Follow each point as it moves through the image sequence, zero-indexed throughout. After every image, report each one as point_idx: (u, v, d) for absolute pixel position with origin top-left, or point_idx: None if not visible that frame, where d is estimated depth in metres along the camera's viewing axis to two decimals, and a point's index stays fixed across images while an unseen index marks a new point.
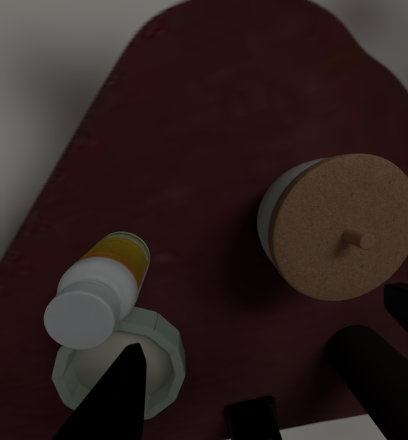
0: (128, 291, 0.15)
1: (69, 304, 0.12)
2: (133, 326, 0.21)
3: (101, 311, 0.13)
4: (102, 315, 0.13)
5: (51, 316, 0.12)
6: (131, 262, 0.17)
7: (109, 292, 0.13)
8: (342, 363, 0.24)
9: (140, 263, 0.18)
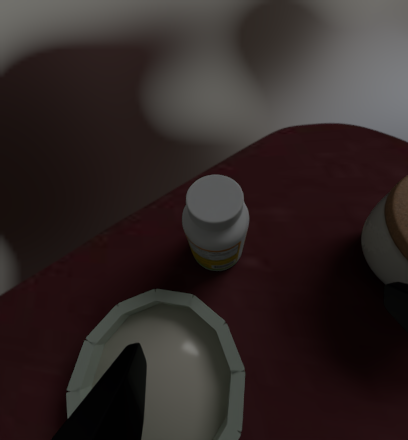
0: (245, 216, 0.16)
1: (214, 182, 0.15)
2: (204, 308, 0.18)
3: (236, 193, 0.15)
4: (235, 196, 0.15)
5: (196, 186, 0.15)
6: None
7: None
8: None
9: None
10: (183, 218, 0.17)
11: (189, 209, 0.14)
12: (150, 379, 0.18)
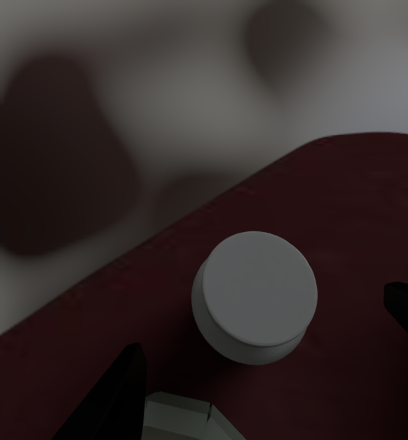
0: None
1: (255, 247, 0.08)
2: None
3: (300, 275, 0.07)
4: (300, 282, 0.07)
5: (221, 256, 0.08)
6: None
7: None
8: None
9: None
10: (194, 300, 0.10)
11: (209, 309, 0.07)
12: None
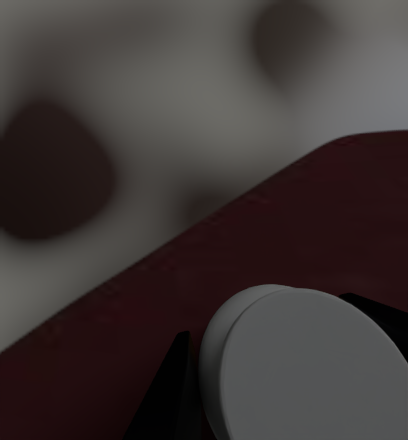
0: None
1: (306, 319, 0.05)
2: None
3: (392, 379, 0.04)
4: (394, 394, 0.04)
5: (251, 334, 0.05)
6: None
7: None
8: None
9: None
10: (202, 381, 0.07)
11: None
12: None
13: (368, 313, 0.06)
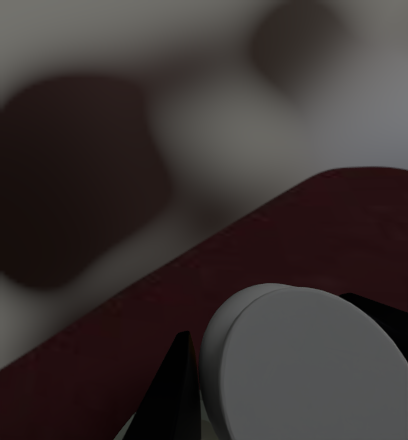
0: None
1: (306, 317, 0.05)
2: None
3: (391, 377, 0.04)
4: (394, 393, 0.04)
5: (251, 333, 0.05)
6: None
7: None
8: None
9: None
10: (203, 379, 0.07)
11: None
12: None
13: (368, 313, 0.06)
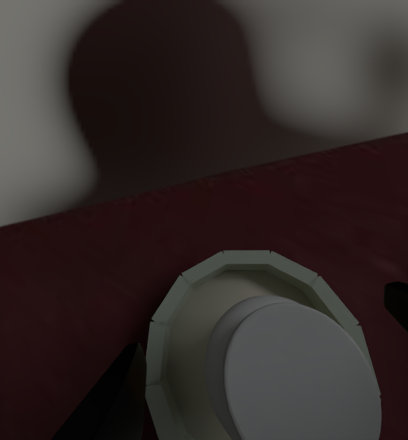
0: None
1: (291, 327, 0.06)
2: (331, 295, 0.14)
3: (355, 374, 0.06)
4: (356, 385, 0.06)
5: (248, 340, 0.06)
6: None
7: None
8: None
9: None
10: (209, 377, 0.08)
11: (236, 424, 0.05)
12: None
13: None
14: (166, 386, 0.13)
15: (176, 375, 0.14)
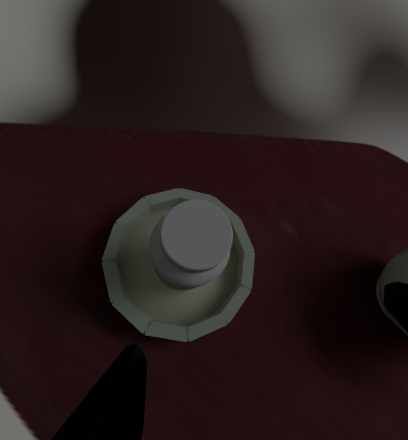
0: None
1: (202, 211, 0.12)
2: (243, 232, 0.21)
3: (224, 234, 0.12)
4: (223, 238, 0.12)
5: (178, 211, 0.12)
6: None
7: None
8: None
9: None
10: (152, 239, 0.13)
11: (162, 242, 0.11)
12: None
13: None
14: (118, 266, 0.19)
15: (126, 263, 0.20)
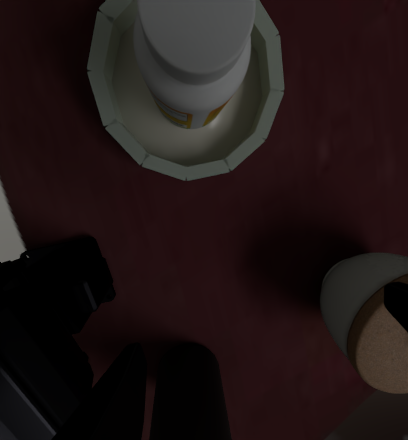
0: (223, 92, 0.10)
1: None
2: (273, 110, 0.16)
3: (230, 41, 0.07)
4: (224, 45, 0.07)
5: None
6: None
7: None
8: (194, 365, 0.21)
9: (221, 108, 0.13)
10: None
11: None
12: None
13: None
14: (116, 37, 0.14)
15: (128, 43, 0.15)
